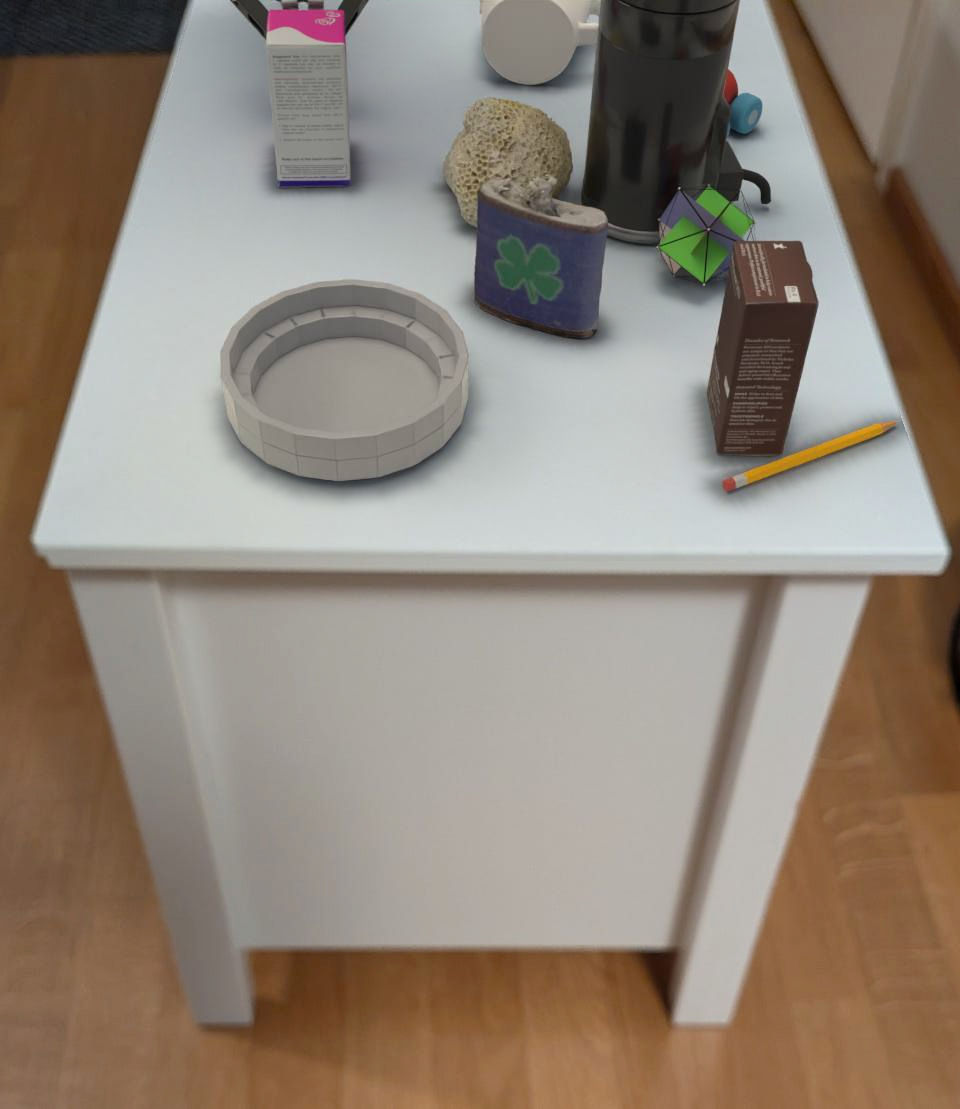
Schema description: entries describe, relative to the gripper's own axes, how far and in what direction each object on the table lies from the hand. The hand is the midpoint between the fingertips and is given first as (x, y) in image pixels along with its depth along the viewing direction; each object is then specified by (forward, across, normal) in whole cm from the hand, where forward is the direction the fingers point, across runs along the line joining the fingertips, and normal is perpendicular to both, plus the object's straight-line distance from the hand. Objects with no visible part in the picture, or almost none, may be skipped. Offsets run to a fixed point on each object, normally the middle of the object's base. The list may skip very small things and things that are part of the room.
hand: (311, 94), depth 98 cm
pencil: (+30, +28, -26) cm, 49 cm away
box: (+29, +25, -23) cm, 45 cm away
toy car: (+3, +31, +3) cm, 31 cm away
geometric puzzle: (+13, +28, -17) cm, 35 cm away
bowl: (+25, 0, -19) cm, 32 cm away
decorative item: (+10, +14, -4) cm, 17 cm away
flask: (+20, +14, -14) cm, 28 cm away
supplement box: (+6, 0, +1) cm, 6 cm away
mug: (-5, +21, +12) cm, 24 cm away
